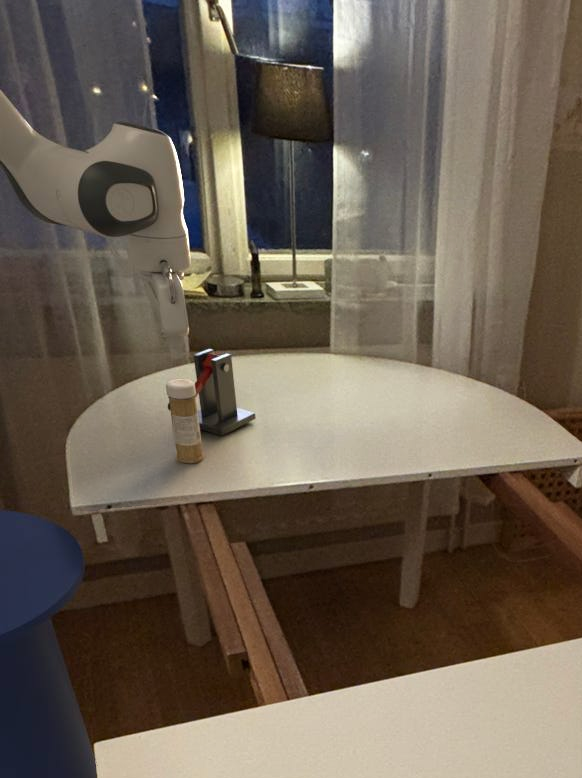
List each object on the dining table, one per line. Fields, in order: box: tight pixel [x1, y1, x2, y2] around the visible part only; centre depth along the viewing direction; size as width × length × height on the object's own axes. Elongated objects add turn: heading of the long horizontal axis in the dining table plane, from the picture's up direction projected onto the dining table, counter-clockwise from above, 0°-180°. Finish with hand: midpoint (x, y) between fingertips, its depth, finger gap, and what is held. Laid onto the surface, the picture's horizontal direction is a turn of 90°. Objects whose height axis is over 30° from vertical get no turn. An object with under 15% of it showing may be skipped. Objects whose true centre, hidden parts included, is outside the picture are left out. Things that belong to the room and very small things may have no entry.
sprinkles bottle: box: [165, 378, 204, 464], centre depth 130 cm, size 5×5×14 cm
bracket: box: [193, 348, 257, 436], centre depth 144 cm, size 10×9×13 cm
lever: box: [167, 353, 220, 412], centre depth 139 cm, size 13×5×2 cm
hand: (171, 347), depth 122 cm, fingers open, 8 cm apart
